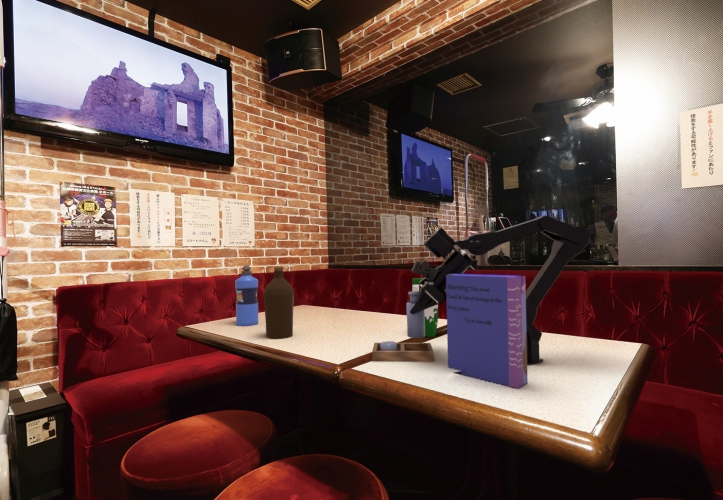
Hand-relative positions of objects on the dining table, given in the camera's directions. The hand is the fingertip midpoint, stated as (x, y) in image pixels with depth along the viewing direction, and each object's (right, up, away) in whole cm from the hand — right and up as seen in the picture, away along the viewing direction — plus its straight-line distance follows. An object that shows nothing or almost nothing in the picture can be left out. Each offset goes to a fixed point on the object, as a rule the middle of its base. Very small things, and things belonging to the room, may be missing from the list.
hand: (410, 311), depth 104 cm
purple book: (+16, -13, -15) cm, 25 cm away
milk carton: (+9, -13, +31) cm, 35 cm away
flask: (+1, -7, 0) cm, 7 cm away
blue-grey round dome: (-6, -12, 0) cm, 14 cm away
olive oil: (-43, -14, +33) cm, 56 cm away
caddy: (-2, -13, 0) cm, 13 cm away
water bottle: (-62, -15, +58) cm, 87 cm away
